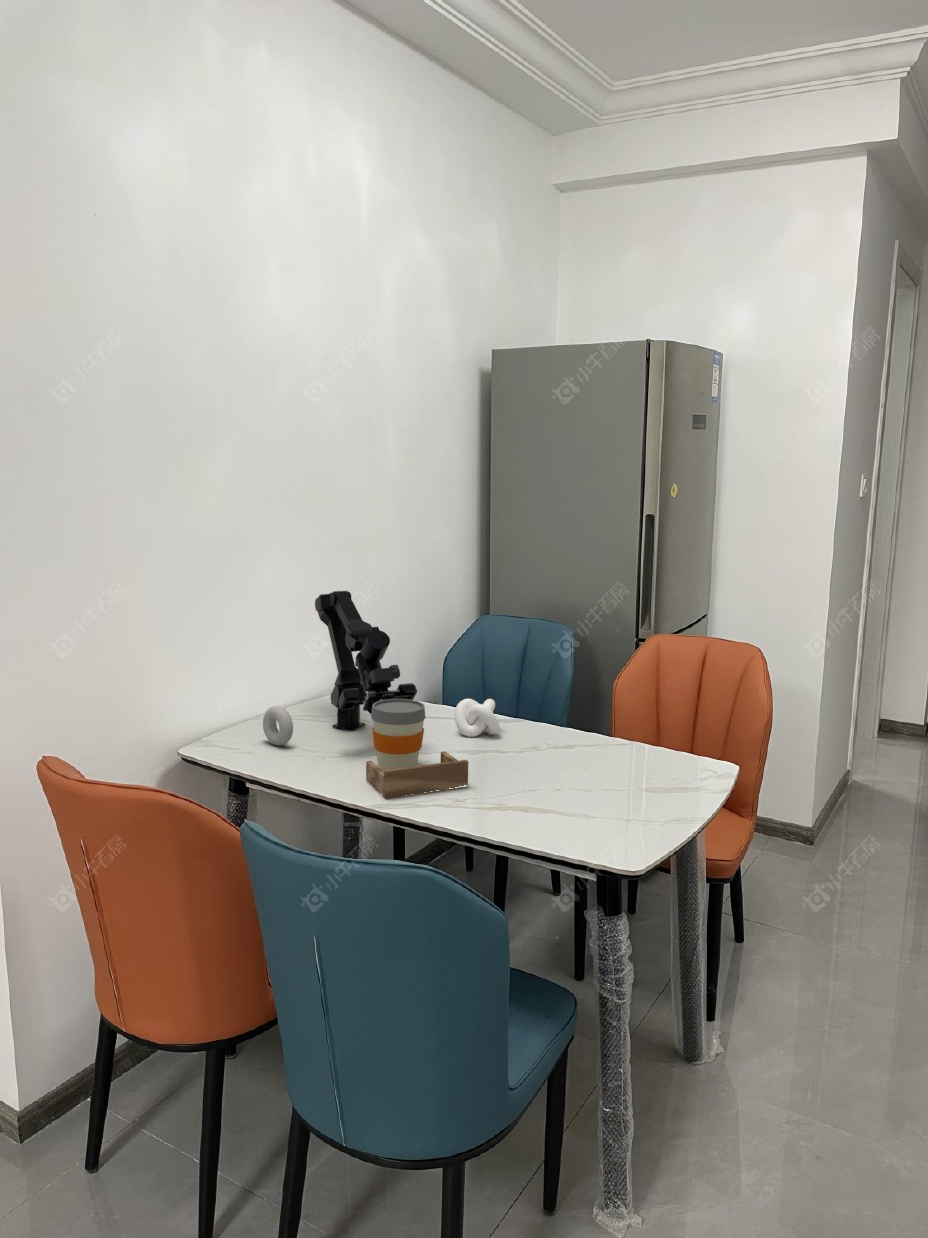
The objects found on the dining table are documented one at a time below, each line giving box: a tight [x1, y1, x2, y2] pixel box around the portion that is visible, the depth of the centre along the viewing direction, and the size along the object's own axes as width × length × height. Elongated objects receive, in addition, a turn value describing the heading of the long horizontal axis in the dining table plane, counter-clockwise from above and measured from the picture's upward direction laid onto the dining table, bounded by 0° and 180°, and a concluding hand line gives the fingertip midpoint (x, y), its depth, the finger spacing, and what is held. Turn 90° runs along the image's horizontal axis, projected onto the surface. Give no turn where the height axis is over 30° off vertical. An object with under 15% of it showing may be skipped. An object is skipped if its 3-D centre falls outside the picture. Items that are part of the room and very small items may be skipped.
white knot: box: [454, 698, 500, 738], centre depth 247 cm, size 11×12×9 cm
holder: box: [365, 751, 469, 800], centre depth 209 cm, size 12×19×6 cm, turn 115°
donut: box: [262, 705, 294, 747], centre depth 233 cm, size 10×4×10 cm, turn 49°
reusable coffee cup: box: [370, 699, 426, 771], centre depth 219 cm, size 13×13×15 cm
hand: (386, 726), depth 225 cm, fingers closed
